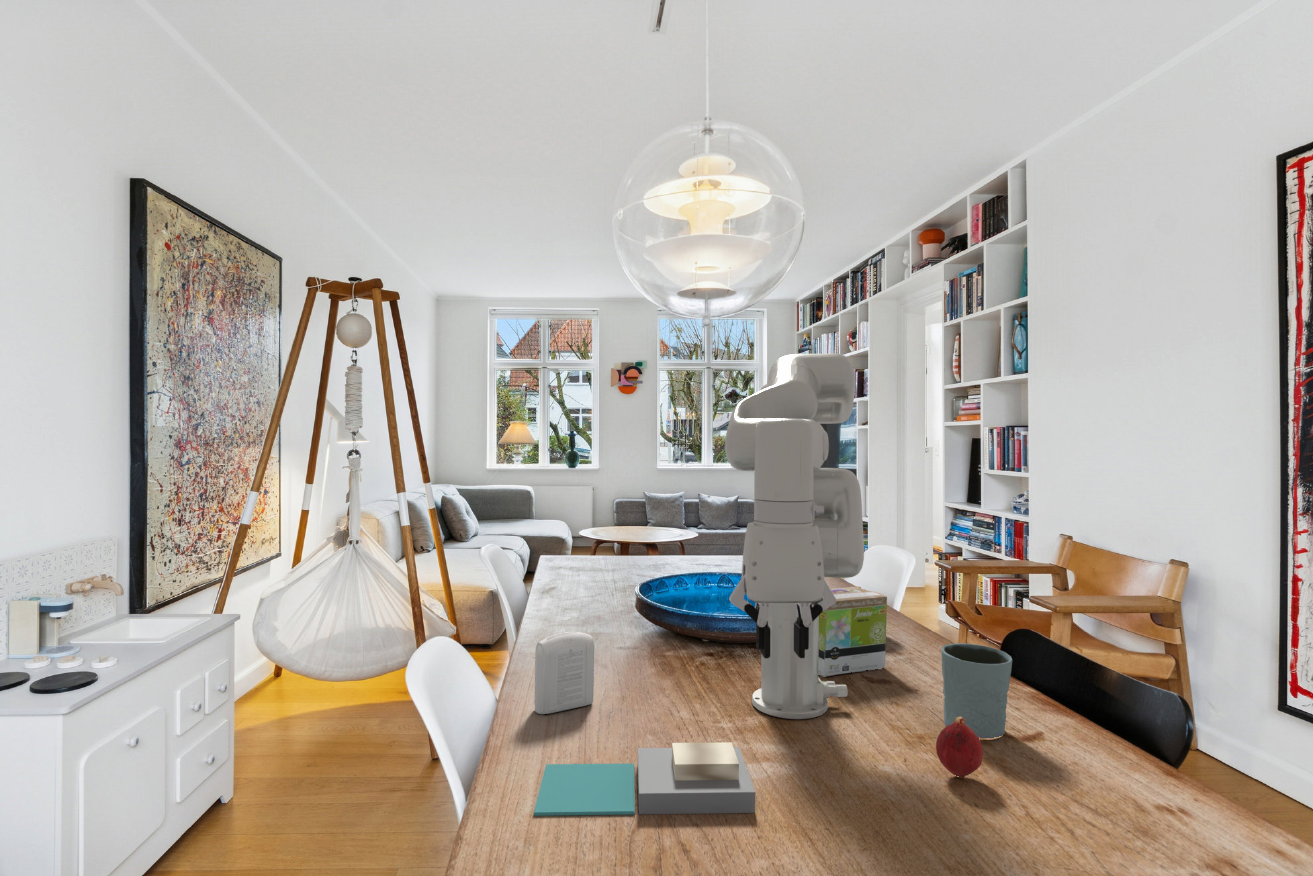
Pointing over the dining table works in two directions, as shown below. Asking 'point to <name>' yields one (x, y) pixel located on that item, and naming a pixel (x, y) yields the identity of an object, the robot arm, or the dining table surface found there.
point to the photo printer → (564, 672)
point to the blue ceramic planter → (976, 687)
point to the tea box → (852, 632)
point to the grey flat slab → (689, 788)
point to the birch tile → (705, 761)
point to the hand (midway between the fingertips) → (782, 653)
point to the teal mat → (586, 790)
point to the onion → (959, 748)
